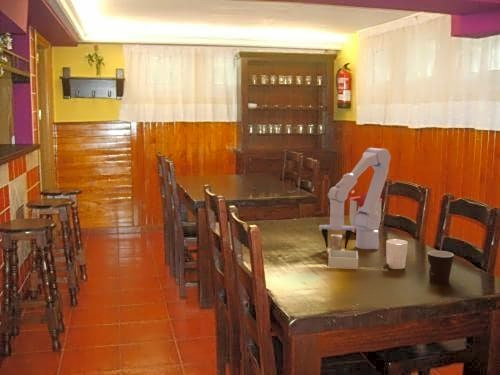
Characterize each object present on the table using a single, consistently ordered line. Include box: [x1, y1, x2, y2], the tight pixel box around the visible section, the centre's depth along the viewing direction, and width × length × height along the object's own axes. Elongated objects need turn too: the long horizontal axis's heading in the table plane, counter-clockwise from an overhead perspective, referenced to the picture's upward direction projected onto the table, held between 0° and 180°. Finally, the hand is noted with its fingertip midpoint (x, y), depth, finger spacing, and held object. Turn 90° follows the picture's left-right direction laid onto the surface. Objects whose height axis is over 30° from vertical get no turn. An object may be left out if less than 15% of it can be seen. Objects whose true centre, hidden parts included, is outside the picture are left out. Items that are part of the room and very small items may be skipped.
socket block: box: [330, 234, 343, 250], centre depth 223 cm, size 5×5×6 cm
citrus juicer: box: [349, 192, 383, 234], centre depth 260 cm, size 16×17×20 cm
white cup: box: [385, 238, 409, 270], centre depth 205 cm, size 8×8×10 cm
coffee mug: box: [427, 250, 455, 285], centre depth 189 cm, size 12×9×10 cm
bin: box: [327, 250, 359, 270], centre depth 209 cm, size 11×11×4 cm
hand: (336, 247), depth 224 cm, fingers open, 7 cm apart
